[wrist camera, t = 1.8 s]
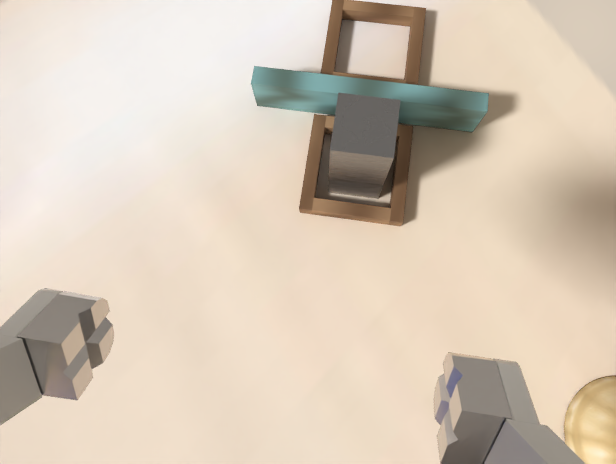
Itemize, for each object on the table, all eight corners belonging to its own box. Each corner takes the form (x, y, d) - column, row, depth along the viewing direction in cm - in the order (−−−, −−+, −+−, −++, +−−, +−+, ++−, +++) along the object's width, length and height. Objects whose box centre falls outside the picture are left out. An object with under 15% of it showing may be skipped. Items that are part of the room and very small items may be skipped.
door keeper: (238, 204, 37) (229, 190, 33) (277, 2, 41) (272, -29, 37) (464, 234, 36) (479, 224, 32) (480, 23, 40) (495, -6, 36)
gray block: (328, 192, 37) (329, 150, 28) (335, 146, 38) (338, 92, 29) (377, 198, 36) (393, 158, 28) (383, 152, 37) (400, 99, 29)
